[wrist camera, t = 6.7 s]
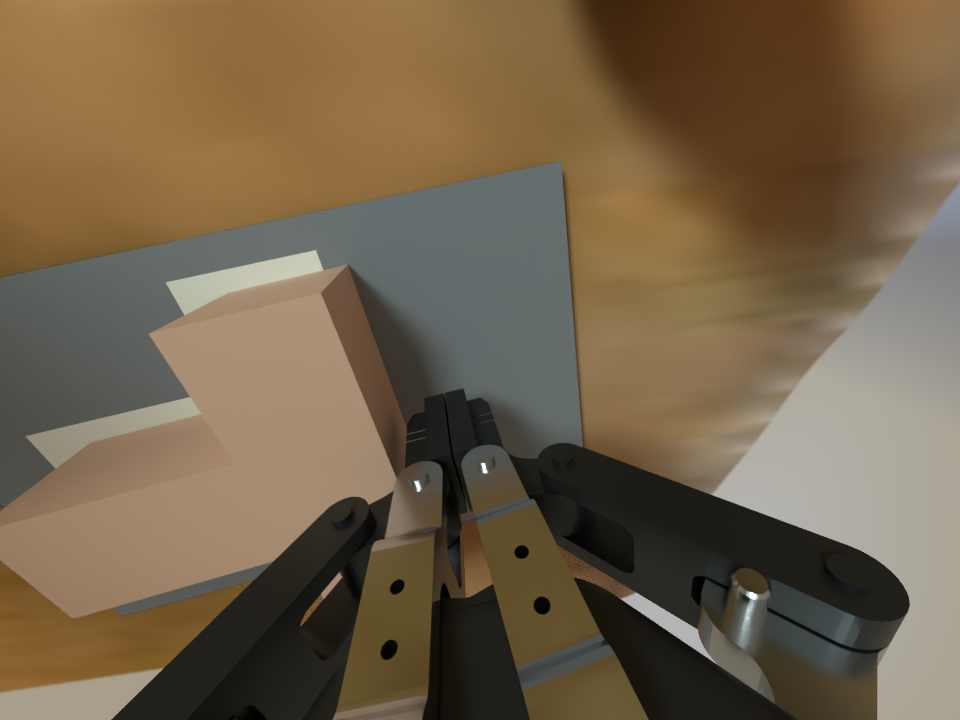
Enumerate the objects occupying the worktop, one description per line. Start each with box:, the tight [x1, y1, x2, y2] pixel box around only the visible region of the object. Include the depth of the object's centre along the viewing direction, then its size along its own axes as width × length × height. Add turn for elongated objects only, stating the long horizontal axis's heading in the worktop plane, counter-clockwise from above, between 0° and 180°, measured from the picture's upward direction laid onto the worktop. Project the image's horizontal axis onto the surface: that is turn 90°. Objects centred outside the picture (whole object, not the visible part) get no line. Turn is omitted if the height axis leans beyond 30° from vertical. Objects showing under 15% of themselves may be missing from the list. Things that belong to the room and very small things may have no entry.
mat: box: [0, 161, 583, 616], centre depth 15 cm, size 15×23×1 cm, turn 101°
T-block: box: [0, 265, 407, 619], centre depth 13 cm, size 12×11×4 cm
